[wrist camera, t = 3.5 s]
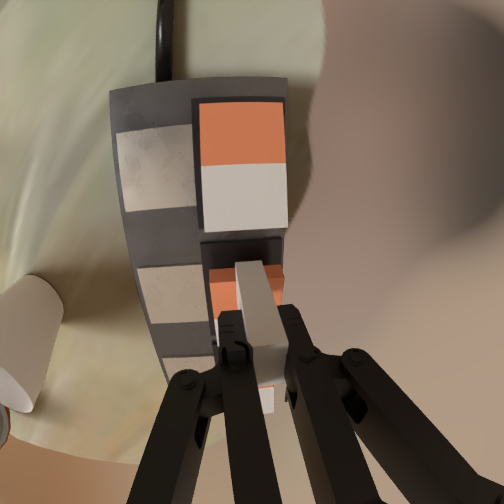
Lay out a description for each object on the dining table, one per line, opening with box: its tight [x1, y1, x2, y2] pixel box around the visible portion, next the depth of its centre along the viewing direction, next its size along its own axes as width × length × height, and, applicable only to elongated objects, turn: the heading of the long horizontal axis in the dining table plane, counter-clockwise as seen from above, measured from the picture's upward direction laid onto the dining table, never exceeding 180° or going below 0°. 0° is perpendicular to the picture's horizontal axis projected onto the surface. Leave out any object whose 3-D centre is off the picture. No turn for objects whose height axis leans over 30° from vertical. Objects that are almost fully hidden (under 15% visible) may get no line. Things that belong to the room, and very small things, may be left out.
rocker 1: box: [199, 102, 288, 232], centre depth 15 cm, size 7×4×1 cm, turn 1°
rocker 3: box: [258, 385, 274, 414], centre depth 24 cm, size 7×4×1 cm, turn 1°
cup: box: [0, 275, 64, 413], centre depth 18 cm, size 9×9×12 cm
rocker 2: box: [209, 264, 284, 346], centre depth 19 cm, size 7×4×1 cm, turn 0°
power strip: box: [109, 0, 287, 385], centre depth 20 cm, size 42×11×5 cm, turn 0°
